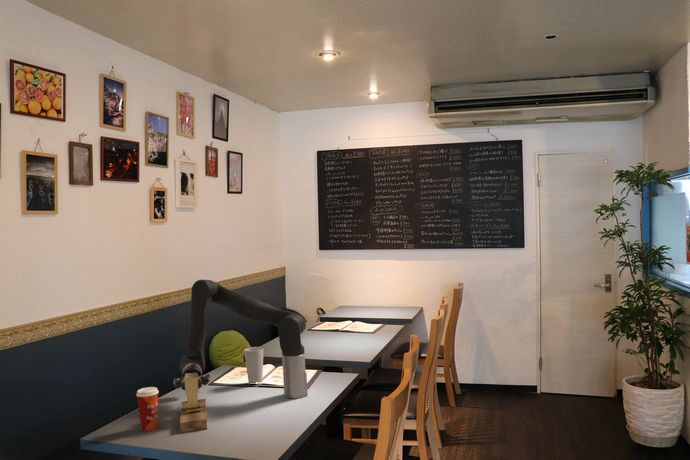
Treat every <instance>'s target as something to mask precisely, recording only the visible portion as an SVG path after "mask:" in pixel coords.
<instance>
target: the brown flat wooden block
mask: <svg viewBox="0 0 690 460" xmlns="http://www.w3.org/2000/svg"><path fill="white" fill-rule="evenodd" d="M180 407H181V408H180V416H179V417H180V419H179V420H180V421H179V427H180V428H179V429H180V433H187V432H195V431H201V430H202V431H203V430H208V423H207V422H208V421H207V403H206V398H203V399H201V398H200V399H198V407H194V408H187V400H185V401H181V406H180Z"/></svg>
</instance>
